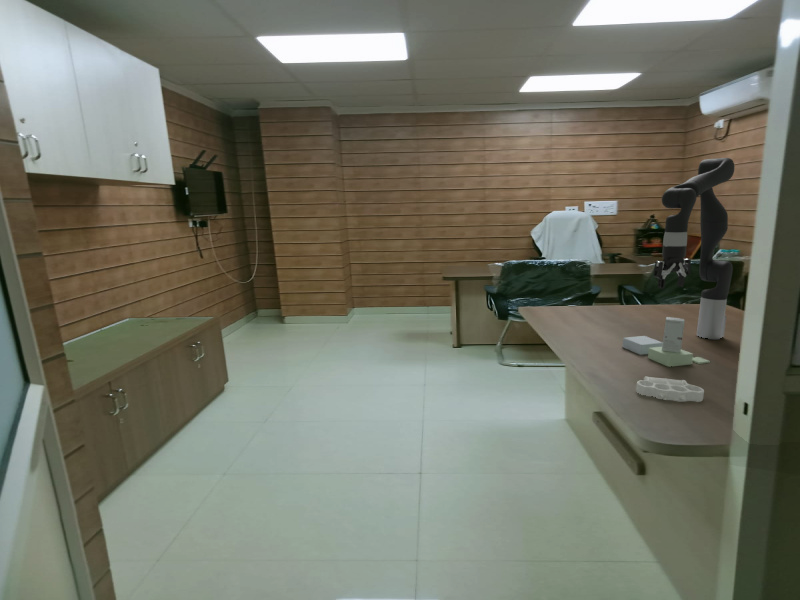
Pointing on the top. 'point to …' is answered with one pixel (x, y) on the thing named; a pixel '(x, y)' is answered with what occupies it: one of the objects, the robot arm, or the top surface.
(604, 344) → the top surface
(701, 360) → the sage tile
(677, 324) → the skincare box
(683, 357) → the sage riser block
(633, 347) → the blue-grey riser block
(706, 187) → the robot arm
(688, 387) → the white brass knuckles
